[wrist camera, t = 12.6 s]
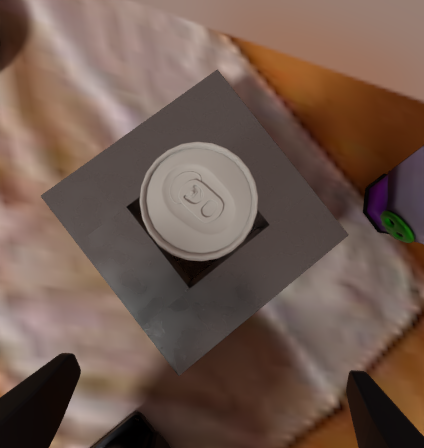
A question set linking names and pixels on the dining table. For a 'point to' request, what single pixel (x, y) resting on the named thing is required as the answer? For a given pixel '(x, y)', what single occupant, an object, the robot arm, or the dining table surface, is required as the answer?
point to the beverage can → (198, 201)
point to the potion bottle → (399, 200)
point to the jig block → (161, 259)
